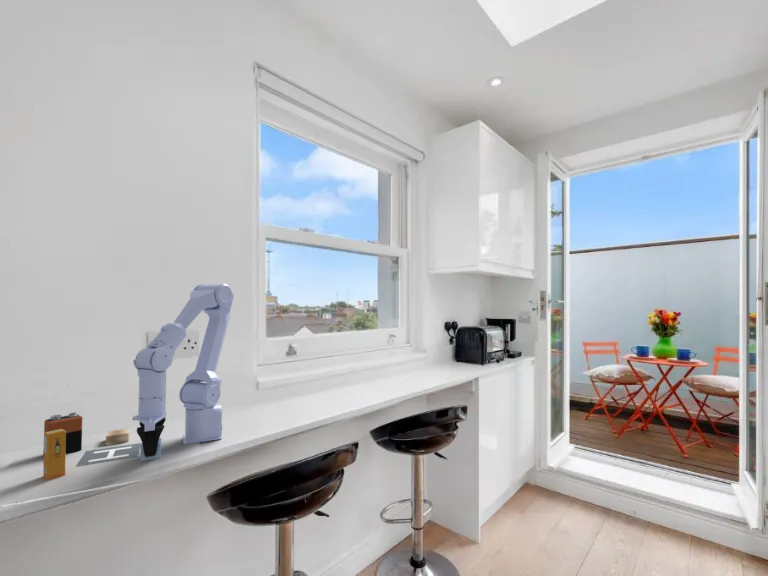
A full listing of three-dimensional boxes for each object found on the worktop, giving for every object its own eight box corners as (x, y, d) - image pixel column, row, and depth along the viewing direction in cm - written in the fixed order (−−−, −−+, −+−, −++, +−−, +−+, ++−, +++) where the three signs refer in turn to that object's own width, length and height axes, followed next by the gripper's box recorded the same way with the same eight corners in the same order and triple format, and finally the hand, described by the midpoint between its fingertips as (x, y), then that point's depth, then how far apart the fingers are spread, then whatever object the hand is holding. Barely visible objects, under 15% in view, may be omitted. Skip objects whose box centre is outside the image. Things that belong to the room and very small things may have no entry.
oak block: (129, 438, 108) (129, 428, 108) (128, 444, 104) (128, 433, 104) (107, 442, 105) (107, 431, 105) (105, 447, 101) (105, 436, 101)
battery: (42, 456, 95) (44, 416, 95) (76, 448, 100) (77, 409, 101) (47, 460, 92) (48, 419, 93) (82, 452, 97) (83, 412, 98)
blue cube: (161, 454, 96) (161, 438, 96) (159, 460, 92) (160, 443, 92) (142, 457, 94) (142, 440, 94) (140, 463, 90) (140, 446, 91)
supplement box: (61, 472, 85) (63, 427, 86) (65, 477, 83) (67, 430, 84) (42, 478, 83) (43, 431, 83) (45, 482, 81) (47, 434, 81)
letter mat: (141, 444, 103) (141, 442, 103) (137, 458, 93) (137, 456, 93) (86, 452, 97) (86, 450, 97) (75, 468, 87) (75, 466, 87)
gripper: (136, 392, 98) (135, 445, 98) (129, 405, 85) (127, 466, 85) (167, 389, 102) (166, 441, 101) (165, 401, 89) (164, 460, 88)
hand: (151, 452), depth 93 cm, fingers closed on blue cube, 4 cm apart
